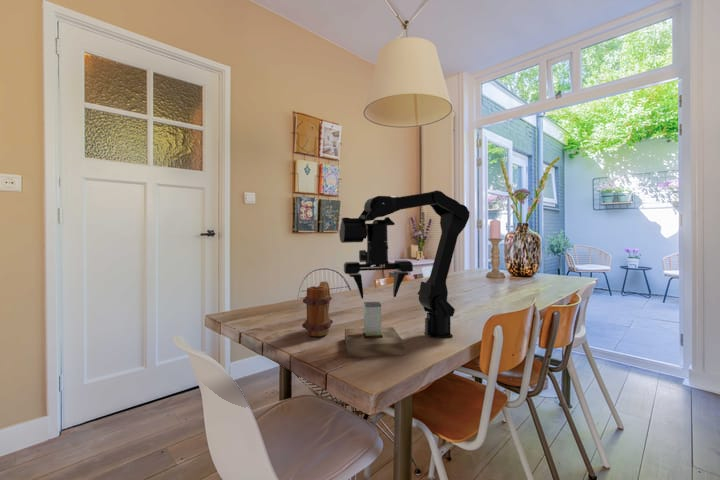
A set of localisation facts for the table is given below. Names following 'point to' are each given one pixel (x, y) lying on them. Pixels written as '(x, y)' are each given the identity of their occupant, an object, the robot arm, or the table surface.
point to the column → (372, 318)
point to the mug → (318, 310)
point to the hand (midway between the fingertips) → (378, 297)
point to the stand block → (373, 343)
